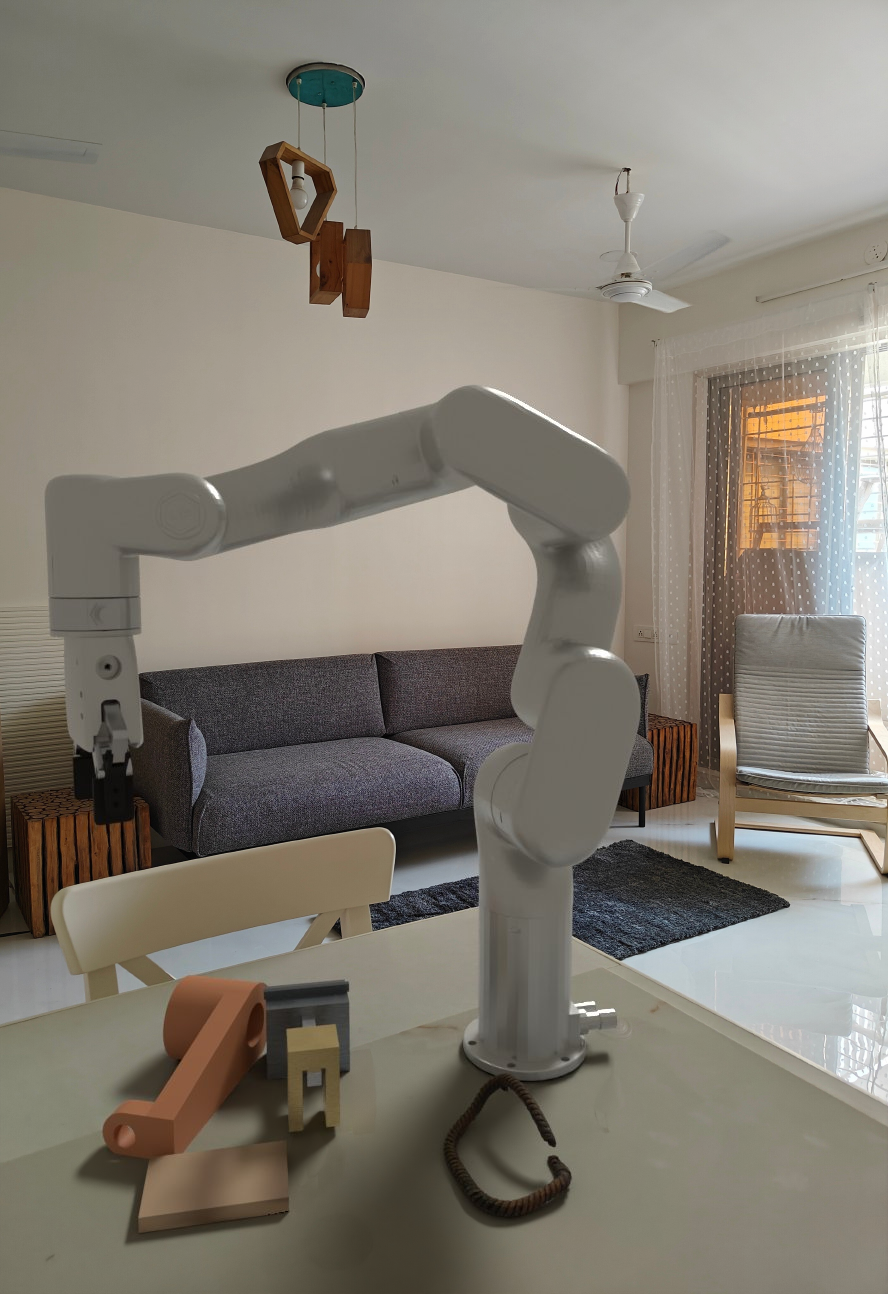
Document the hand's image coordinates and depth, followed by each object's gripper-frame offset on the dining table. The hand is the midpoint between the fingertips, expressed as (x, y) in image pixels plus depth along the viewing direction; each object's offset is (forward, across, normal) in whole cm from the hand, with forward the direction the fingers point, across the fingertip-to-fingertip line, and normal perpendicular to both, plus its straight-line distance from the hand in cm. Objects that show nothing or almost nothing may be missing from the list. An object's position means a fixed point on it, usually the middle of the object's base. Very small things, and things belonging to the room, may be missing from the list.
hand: (102, 809), depth 80 cm
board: (+28, -16, -5) cm, 33 cm away
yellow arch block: (+28, -12, -15) cm, 34 cm away
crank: (+28, -1, -7) cm, 29 cm away
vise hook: (+28, -7, -17) cm, 33 cm away
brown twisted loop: (+28, -25, -26) cm, 46 cm away
